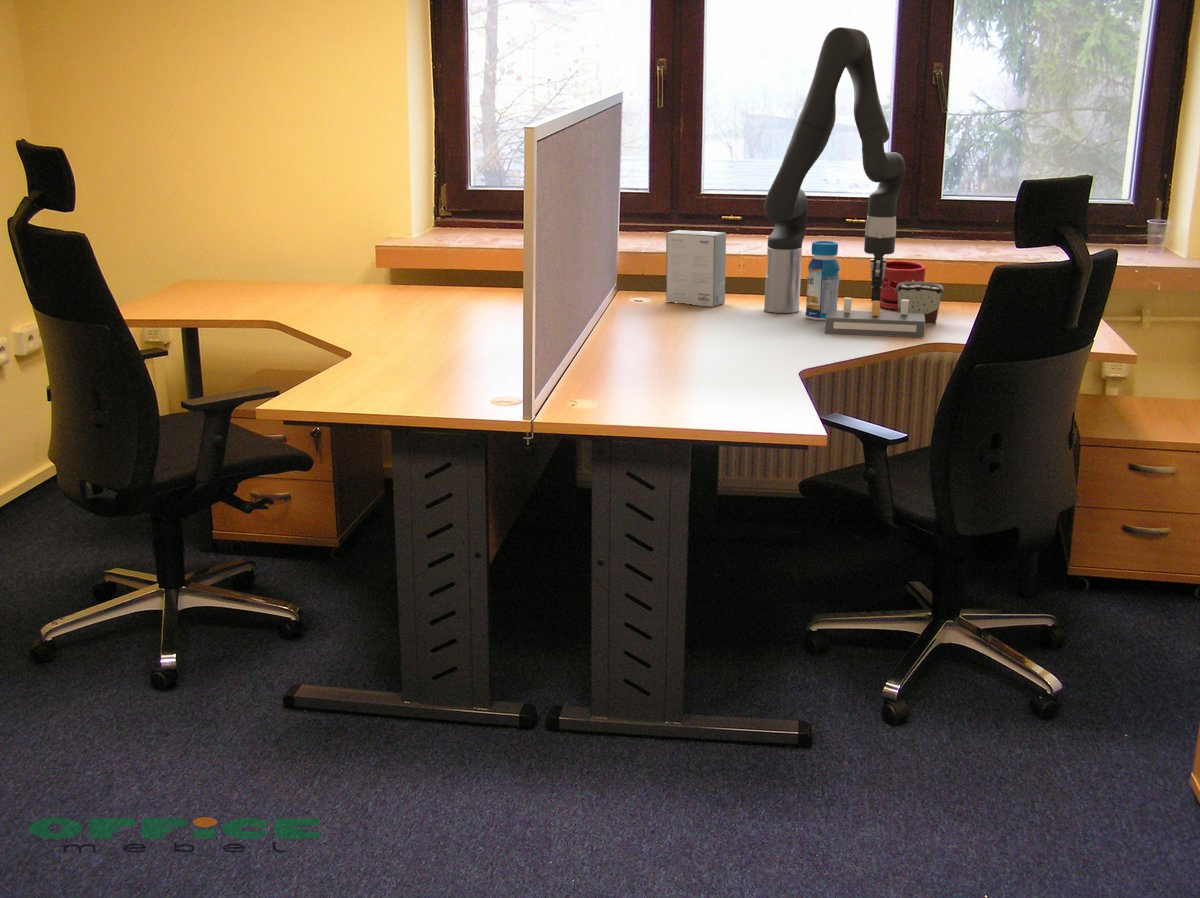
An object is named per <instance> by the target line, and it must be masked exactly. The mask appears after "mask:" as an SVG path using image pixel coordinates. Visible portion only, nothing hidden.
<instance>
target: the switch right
mask: <svg viewBox="0 0 1200 898" xmlns="http://www.w3.org/2000/svg"><path fill="white" fill-rule="evenodd" d="M908 305H909V300H901V311H900V314H903V315H908Z"/></svg>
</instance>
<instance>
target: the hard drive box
mask: <svg viewBox="0 0 1200 898" xmlns="http://www.w3.org/2000/svg"><path fill="white" fill-rule="evenodd" d="M665 235H666V239H665V241H666V243H665V244H666V245H665V246H666V249H665V250H666V253H665V256H666V258H665V259H666V260H665V261H666V262H665V269H666V270H665V271H666V273H665V274H666V275H665V276H666V277H665V278H666V279H665V282H666V285H665V287H666V288H665V291H666V293H665V296H666V297H665V299H666V300H665V301H668V302H667V303H669V302H677V303H686V304H685V305H689V304H692V305H691V306H699V307H710V308H713V307H716V306H719V305H723V304H725V303H726V261H727V260H726V258H727V257H726V253H727V251H726V250H727V249H726V248H727V247H726V246H727V232H724V231H723V232H722V231H720V232H719V231H718V232H717V231H707V230H706V231H703V230H687V229H686V230H685V229H684V230H681V229H678V230H673V231H668V232H666V234H665ZM677 303H676V304H677Z"/></svg>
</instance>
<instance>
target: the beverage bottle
mask: <svg viewBox="0 0 1200 898" xmlns="http://www.w3.org/2000/svg"><path fill="white" fill-rule="evenodd" d="M838 244H839V243H838V242H837V241H833V240H832V241H831V240H816V241H812V244H811V255H812V256H813V257H812V258H811V260H810V261H809V263H808V266H807V270H808V274H807V276H806V283H807V284H806V301H805V302H806V304H805V305H806V306H805V317H806V318H807V319H808V320H813V321H820V322H821V321H823V322H824V321H825V322H826V315H827V311H828V310H838V301H839V300H838V299H839V297H838V295H839V283H840V275H839V272H840V264H839V262H838V260H837V259H836V256H838V252H839V245H838Z"/></svg>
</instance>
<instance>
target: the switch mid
mask: <svg viewBox="0 0 1200 898" xmlns="http://www.w3.org/2000/svg"><path fill="white" fill-rule="evenodd" d="M871 302H872V301H871ZM871 307H872V308H871V312H872V316H879V312H880V309H881V306H880V301H873V302H872V303H871Z"/></svg>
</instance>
